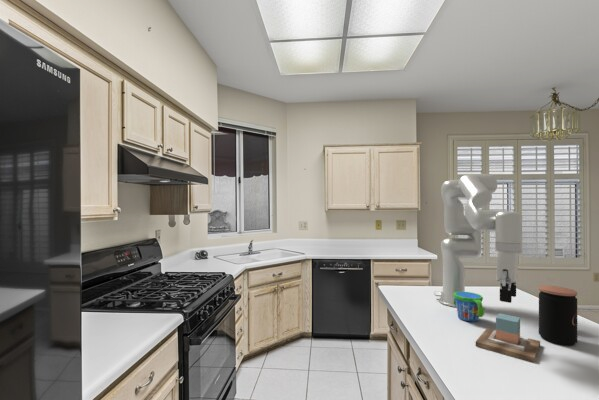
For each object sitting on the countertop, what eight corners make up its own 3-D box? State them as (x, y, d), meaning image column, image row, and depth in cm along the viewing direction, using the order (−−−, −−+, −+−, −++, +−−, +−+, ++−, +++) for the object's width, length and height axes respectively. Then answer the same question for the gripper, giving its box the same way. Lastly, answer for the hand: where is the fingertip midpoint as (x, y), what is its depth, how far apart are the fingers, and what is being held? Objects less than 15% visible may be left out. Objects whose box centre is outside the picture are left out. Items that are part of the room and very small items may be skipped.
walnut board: (475, 346, 106) (475, 338, 106) (486, 332, 118) (486, 325, 118) (534, 362, 95) (534, 354, 95) (540, 345, 107) (540, 338, 107)
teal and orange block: (495, 341, 106) (495, 317, 106) (499, 335, 111) (499, 313, 111) (517, 346, 102) (517, 322, 102) (520, 341, 107) (520, 317, 107)
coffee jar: (580, 349, 104) (580, 295, 104) (540, 341, 110) (540, 290, 110) (574, 338, 113) (573, 288, 113) (537, 331, 119) (537, 283, 119)
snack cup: (446, 312, 139) (446, 289, 139) (469, 312, 139) (469, 289, 139) (466, 326, 123) (466, 300, 123) (492, 326, 124) (492, 300, 124)
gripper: (500, 244, 116) (500, 291, 116) (489, 249, 103) (489, 302, 103) (525, 246, 111) (525, 295, 110) (517, 251, 98) (517, 307, 98)
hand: (508, 298), depth 107 cm, fingers open, 8 cm apart
